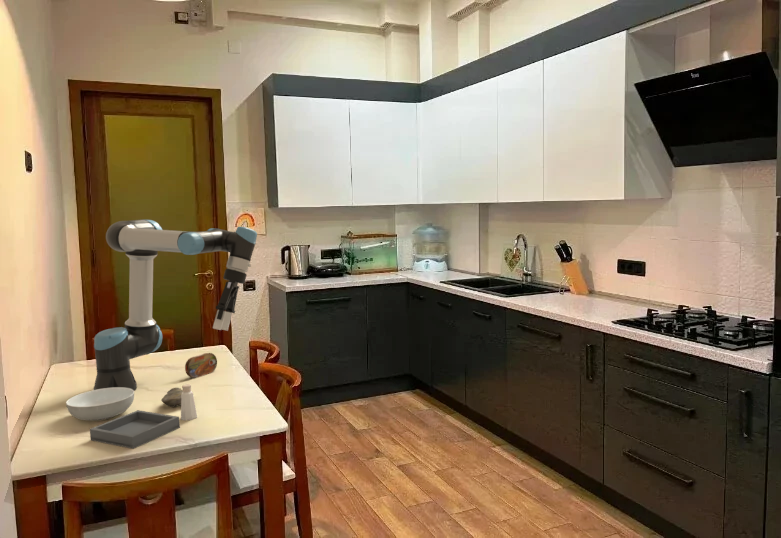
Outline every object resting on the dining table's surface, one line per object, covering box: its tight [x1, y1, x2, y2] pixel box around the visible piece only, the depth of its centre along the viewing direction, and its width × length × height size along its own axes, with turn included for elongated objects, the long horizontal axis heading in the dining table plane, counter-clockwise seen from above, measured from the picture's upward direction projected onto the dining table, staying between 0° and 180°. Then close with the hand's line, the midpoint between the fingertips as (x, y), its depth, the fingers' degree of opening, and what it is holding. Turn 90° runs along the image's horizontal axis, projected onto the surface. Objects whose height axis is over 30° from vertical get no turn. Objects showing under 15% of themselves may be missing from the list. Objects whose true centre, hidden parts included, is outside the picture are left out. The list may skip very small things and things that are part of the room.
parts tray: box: [89, 409, 181, 450], centre depth 192 cm, size 18×18×4 cm
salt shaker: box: [180, 383, 198, 421], centre depth 204 cm, size 5×5×11 cm
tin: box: [184, 352, 218, 379], centre depth 257 cm, size 15×3×8 cm, turn 148°
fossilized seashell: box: [161, 387, 183, 408], centre depth 218 cm, size 11×11×7 cm
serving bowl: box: [65, 387, 135, 422], centre depth 210 cm, size 21×21×7 cm
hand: (220, 329), depth 218 cm, fingers open, 13 cm apart
